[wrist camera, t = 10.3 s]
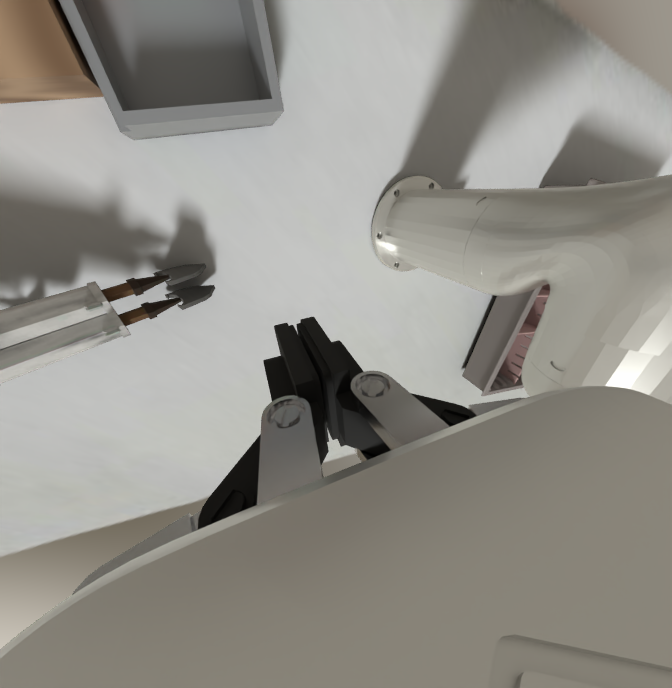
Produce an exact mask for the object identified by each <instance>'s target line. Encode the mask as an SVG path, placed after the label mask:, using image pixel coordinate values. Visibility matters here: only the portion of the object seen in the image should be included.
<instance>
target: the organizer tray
mask: <svg viewBox="0 0 672 688" xmlns="http://www.w3.org/2000/svg"><path fill="white" fill-rule="evenodd" d="M599 184H608V183H605V182H602V181H599V180H596V179H593V178H591V179H590V180H589V181H588V183H587V185H569V186H545V187H544V188H559V187H579V186H590V185H599ZM549 293H550V285H549V284H547V285H544V286H542V287H539V288H536V289H534V290H531V291H528V292H525V293H521V294H517V295H512V296H497V297H496V300H495V302H494V304H493V307H492V309H491V311H490V313H489V316H488V318H487V320H486V323H485V325H484V327H483V329H482V332H481V334H480V336H479V339H478V341H477V343H476V346H475V348H474V350H473V352H472V355H471V357H470V359H469V362H468V364H467V366H466V368H465V371H464V373H463V375H462V376H463V377H464V378H466V379H467V380H468V381H470V382H471V383H472V384H474V385H475V386H476V387H478V388H479V389H480V390H482V391H483V393H482V395H481V396H486V395H491V394H495V393H500V392H505V391H509V390H514V389H519V388H523V387H524V386H523V383H522V378H521V371H522V365H523V362H524V359H525V356H526V353H527V351H528V348H529V345H530V343H531V341H532V338H533V336H534V333H535V331H536V328H537V326H538V324H539V321H540V319H541V316H542V314H543V312H544V309H545V304H546V302H547V299H548V296H549Z"/></svg>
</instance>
